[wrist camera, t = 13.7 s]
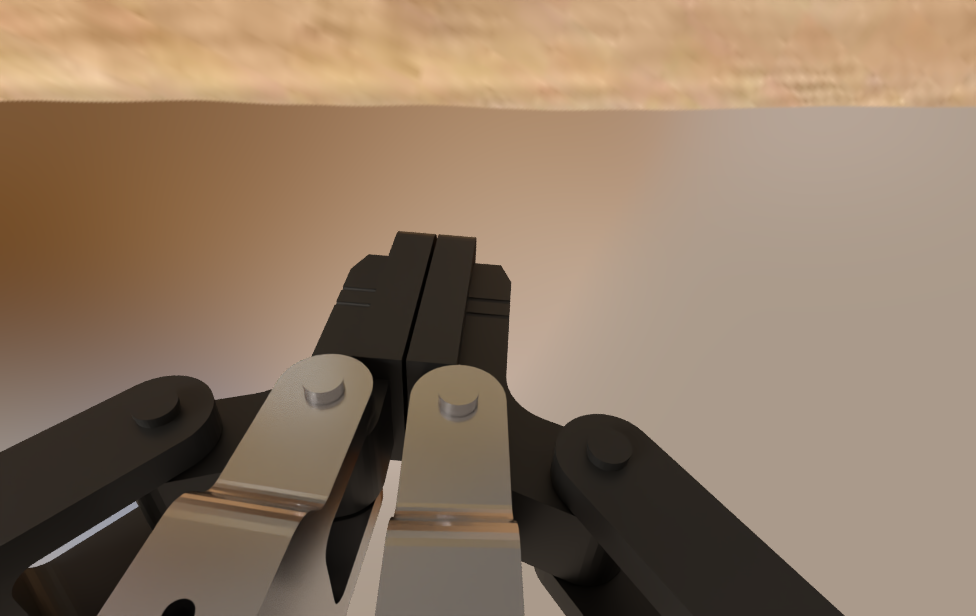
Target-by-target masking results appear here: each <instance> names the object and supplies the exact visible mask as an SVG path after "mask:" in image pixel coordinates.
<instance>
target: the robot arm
mask: <svg viewBox="0 0 976 616" xmlns="http://www.w3.org/2000/svg"><path fill="white" fill-rule="evenodd" d="M475 260H476V237H463V236H452V235H440V234H439V235H438V238H437V235H436V234H426V233H414V232H402V231H398V232H397V234H396V237H395V239H394V242H393V245H392V248H391V250H390V253H389V256H382V255H370V254H369V255H367V256H366V257H365V258H364V259H363V260H361V261H360V262H359V263H357V264H356V265H355V266H354V267H353V268H352V269H351V270H350V272H349V274H348V277H347V279H346V281H345V283H344V285H343V290H341V292H340V295H339V297H338V299H337V304H336V305H334V308H333V310H332V312H331V314H330V317H329V319H328V321H327V323H326V326H325V328H324V330H323V332H322V334H321V337H320V339H319V341H318V343H317V346H316V348H315V350H314V352H313V354H312V357H309V358H307V359H304V360H301V361H299V362H297V363H296V364H294V365H292V366H291V367H290V368H288V369H287V370H286V371H285V372H284V373H283V374H282V375H281V376H280V378H279V379H278V381H277V383H276V384H275V386H274V387H273V389H271V390H268V391H265V392H261V393H256V394H250V395H244V396H237V397H232V398H225V399H218V400H215V399H214V397H213V394H212V391H211V389H210V388H209V387H208V386H207V385H206V384H205V383H204V382H202V381H200V380H198V379H196V378H192V377H188V376H165V377H159V378H155V379H151V380H149V381H145V382H143V383H141V384H138V385H136V386H134V387H132V388H130V389H128V390H126V391H124V392H122V393H120V394H118V395H116V396H114V397H112V398H110V399H107V400H105V401H104V402H101V403H99V404H97V405H95V406H93V407H91V408H89V409H87V410H85V411H83V412H81V413H79V414H77V415H75V416H73V417H71V418H69V419H67V420H65V421H63V422H61V423H59V424H57V425H55V426H53V427H51V428H49V429H47V430H44V431H42V432H40V433H39V434H36V435H34V436H32V437H30V438H28V439H26V440H24V441H22V442H20V443H18V444H16V445H14V446H12V447H10V448H8V449H6V450H4V451H2V452H0V616H346V614H347V610H348V607H349V604H350V600H351V597H352V594H353V591H354V588H355V585H356V582H357V579H358V576H359V573H360V570H361V566H362V563H363V560H364V557H365V554H366V551H367V548H368V545H369V542H370V539H371V536H372V533H373V529H374V526H375V523H376V520H377V517H378V514H379V511H380V508H381V505H382V500H383V485H384V482H385V478H386V474H387V470H388V466H389V462H390V460H398V461H402V464H401V471H400V479H399V487H398V495H397V502H396V509H395V514H394V517H391V518H390V520H389V524H388V528H387V533H386V539H385V546H384V554H383V561H382V568H381V575H380V583H379V590H378V597H377V604H376V611H375V616H524V599H523V583H522V566H521V561H522V562H525V563H527V564H529V565H531V566H534V568H535V571H536V574H537V576H538V578H539V580H540V581H541V583H542V584H543V585H544V587H545V588H546V590H547V591H548V592H549V594H550V595H551V596H552V598H553V599H554V600H555V602H556V603H557V604H558V606H559V607H560V608H561V610H562V611H563V612H564V614H565V615H566V616H844V615H843V614H842V613H841V612H840V611H839V610H837V608H836V607H834V606H833V605H832V604H831V603H830V602H829V601H828V600H827V599H826V598H825V597H823V596H822V595H821V594H820V593H819V592H818V591H817V590H816V589H815V588H814V587H812V586H811V585H810V584H809V583H808V582H807V581H806V580H805V579H804V578H803V577H802V576H800V575H799V574H798V573H797V572H796V571H795V570H794V569H793V568H792V567H791V566H789V565H788V564H787V563H786V562H785V561H784V560H783V559H782V558H781V557H780V556H779V555H777V554H776V553H775V552H774V551H773V550H772V549H771V548H770V547H769V546H768V545H767V544H765V543H764V542H763V541H762V540H761V539H760V538H759V537H758V536H757V535H755V534H754V533H753V532H752V531H751V530H750V529H749V528H748V527H747V526H746V525H745V524H744V523H742V522H741V521H740V520H739V519H738V518H737V517H736V516H735V515H734V514H733V513H731V512H730V511H729V510H728V509H727V508H726V507H725V506H723V504H722V503H721V502H719V501H718V500H717V499H716V498H715V497H714V496H713V495H712V494H710V493H709V492H708V491H707V490H706V489H705V488H704V487H703V486H702V485H701V484H700V483H699V482H698V481H696V480H695V479H694V478H693V477H692V476H691V475H690V474H689V473H688V472H687V471H685V470H684V469H683V468H682V467H681V466H680V465H679V464H678V463H677V462H676V461H675V460H673V459H672V458H671V457H670V456H669V455H668V454H667V453H666V452H665V451H663V450H662V449H661V448H660V447H659V446H658V445H657V444H656V443H655V442H654V441H653V440H651V439H650V438H649V437H648V436H647V435H646V434H645V433H644V432H643V431H641V430H640V429H639V428H638V427H636V426H635V425H633V424H631V423H630V422H628V421H625V420H623V419H621V418H618V417H614V416H610V415H605V414H590V415H585V416H580V417H578V418H575V419H573V420H572V421H570V422H569V423H567V424H566V425H565V426H561V425H558V424H556V423H553V422H550V421H547V420H544V419H542V418H540V417H538V416H535V415H534V414H532V413H530V412H528V411H527V410H526V409H524V408H523V407H522V406H521V405H519V403H518V402H517V401H515V399H514V398H513V396H512V395H511V393H510V391H509V389H508V386H507V381H506V370H507V351H508V332H509V312H510V293H511V281H510V280H509V278H508V276H507V275H506V273H505V271H504V270H503V268H502V266H501V265H489V264H477V263H475ZM135 501H136V502H137V504H138V506H139V507H137V508H136V509H134V510H132V511H131V512H129V513H128V514H126V515H124V516H123V517H121V518H119V519H118V520H116V521H115V522H113V523H111V524H110V525H108V526H107V527H105V528H103V529H102V530H100V531H98V532H97V533H95V534H94V535H92V536H90V537H89V538H87V539H86V540H84V541H82V542H81V543H79V544H77V545H76V546H74V547H73V548H71V549H69V550H68V551H66V552H65V553H63V554H61V555H60V556H58V557H57V558H55V559H53V560H52V561H50V562H48V563H45V564H43V565H40V566H37V567H33V568H28V567H30V566H31V565H32V564H34V563H35V562H37V561H38V560H40V559H42V558H43V557H45V556H46V555H48V554H50V553H51V552H53V551H55V550H56V549H58V548H60V547H61V546H63V545H64V544H66V543H68V542H69V541H71V540H73V539H74V538H76V537H77V536H79V535H81V534H82V533H84V532H86V531H87V530H89V529H91V528H92V527H94V526H95V525H97V524H99V523H100V522H102V521H104V520H105V519H107V518H109V517H110V516H112V515H114V514H115V513H117V512H118V511H120V510H122V509H123V508H125V507H126V506H128V505H130V504H132V503H133V502H135Z"/></svg>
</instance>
